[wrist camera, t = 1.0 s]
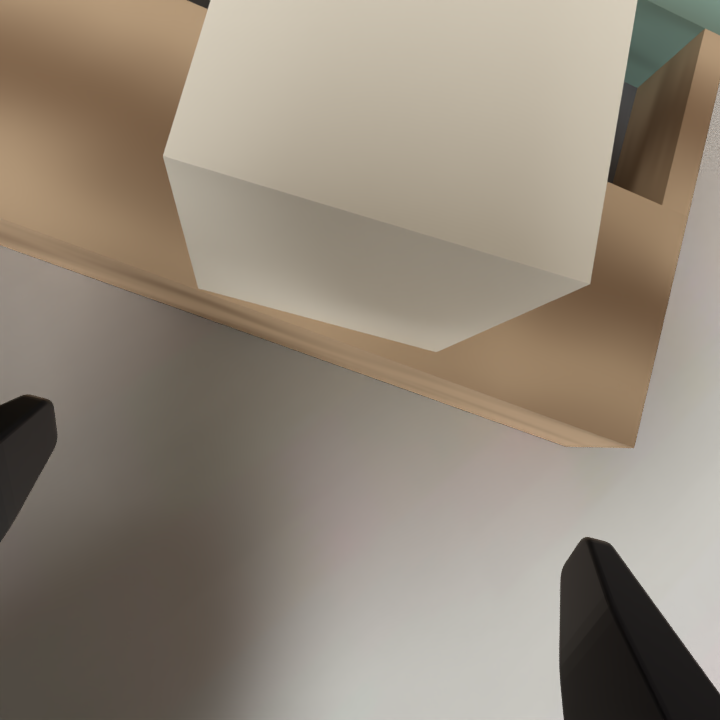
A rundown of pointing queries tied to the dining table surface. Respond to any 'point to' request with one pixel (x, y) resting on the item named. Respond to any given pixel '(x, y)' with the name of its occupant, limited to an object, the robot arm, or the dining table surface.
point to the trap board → (316, 338)
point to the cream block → (399, 157)
